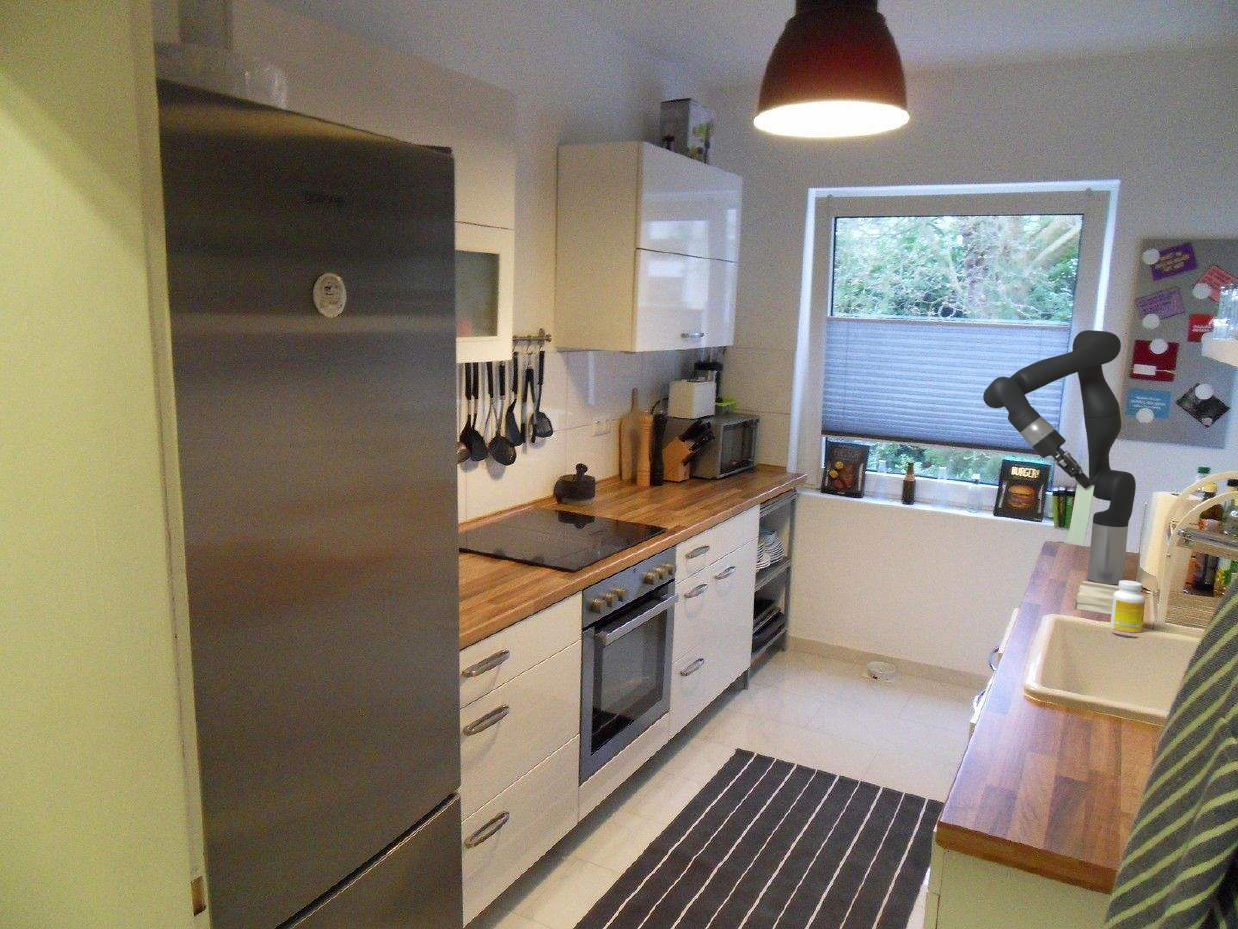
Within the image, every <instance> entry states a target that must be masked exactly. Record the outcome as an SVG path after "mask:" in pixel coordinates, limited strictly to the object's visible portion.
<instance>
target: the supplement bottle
mask: <svg viewBox="0 0 1238 929" xmlns="http://www.w3.org/2000/svg"><path fill="white" fill-rule="evenodd" d="M1142 586H1143V584H1142V583H1140V582H1138V581H1135V580H1125V579H1123V580H1121V581H1119V588H1120V589H1119V591H1116V592H1115V593H1114V594H1113V603H1112V613H1111V615H1110V625H1109V628H1111V629H1112V630H1114V631H1118V632H1121V633H1116V632H1112V634H1113V635H1114V636H1116V637H1121V638H1125V639H1138V638H1140V636H1135V635H1128V634H1141V633H1142V632H1143V625H1144V624H1143V623H1144V613H1145V605H1146V604H1145V603H1146V598H1145V596H1144V595H1143V594H1142V593H1141V590H1142ZM1122 633H1127V634H1122Z"/></svg>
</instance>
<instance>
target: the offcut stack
mask: <svg viewBox="0 0 1238 929" xmlns="http://www.w3.org/2000/svg"><path fill="white" fill-rule="evenodd" d="M1119 589H1120V588H1119V586H1117V585H1115V584H1104V583H1098V582H1094V581H1086V580H1083V581H1081V584H1080V585H1079V588H1078V589H1077V596H1076V598H1077V599H1076V601H1077V602H1078V604H1077V609H1080V610H1079V611H1083V610H1087V611H1086V612H1090V611H1093V612H1092V613H1096V612H1100V613H1099V614H1103V613H1106V614H1105V615H1109V614H1111V613H1112V603H1113V594H1114V593H1115V592H1116V591H1119ZM1077 609H1076V610H1077Z"/></svg>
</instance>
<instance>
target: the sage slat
mask: <svg viewBox="0 0 1238 929" xmlns="http://www.w3.org/2000/svg"><path fill="white" fill-rule="evenodd" d="M1093 492H1094V485H1090V486H1089V487H1087V488H1086V489H1085V488H1083V487H1082V486H1081V485H1080V484H1079V482H1077V484H1076V490H1075V494H1074V501H1073V502H1074V503H1073V508H1072V513H1071V519H1070V524H1069V531H1068V537H1067V543H1073V544H1079V545H1085V541H1086V537H1087V530H1088V525H1089V521H1090V520H1089V519H1090V515H1091V508H1092V504H1093V503H1092V502H1093V497H1094V496H1093Z"/></svg>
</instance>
